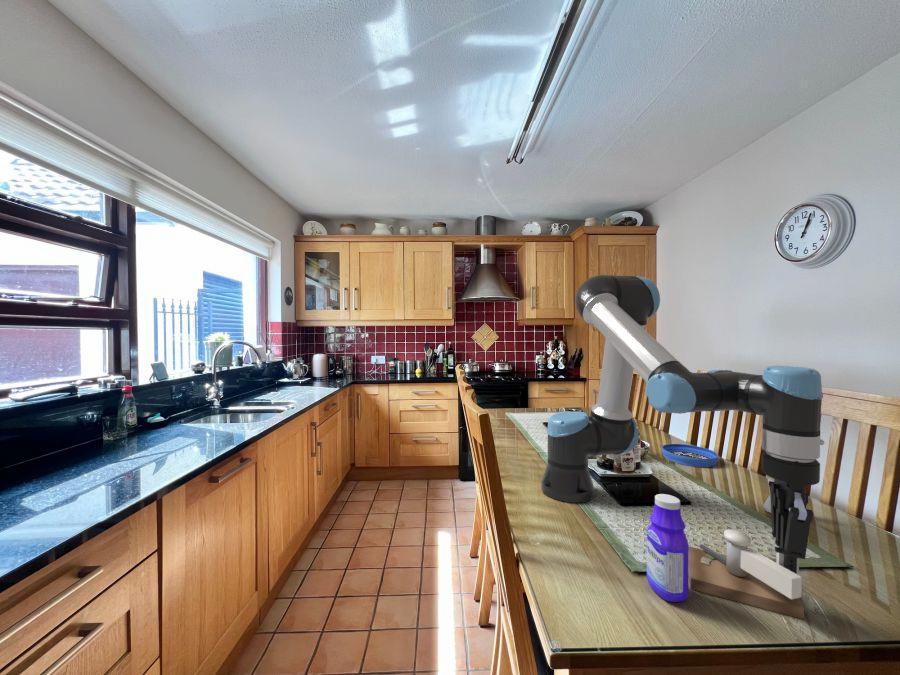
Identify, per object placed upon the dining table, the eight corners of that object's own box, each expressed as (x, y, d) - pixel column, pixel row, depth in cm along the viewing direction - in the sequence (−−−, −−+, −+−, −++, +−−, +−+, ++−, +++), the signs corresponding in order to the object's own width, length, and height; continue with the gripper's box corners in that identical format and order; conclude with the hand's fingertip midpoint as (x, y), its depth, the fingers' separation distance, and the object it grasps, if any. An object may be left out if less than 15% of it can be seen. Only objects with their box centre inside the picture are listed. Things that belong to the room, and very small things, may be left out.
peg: (693, 549, 78) (693, 516, 78) (708, 547, 79) (709, 514, 79) (787, 611, 61) (787, 569, 61) (805, 606, 62) (805, 565, 62)
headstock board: (690, 588, 70) (690, 577, 70) (684, 554, 80) (684, 544, 80) (803, 619, 62) (803, 606, 62) (779, 577, 73) (780, 566, 73)
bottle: (640, 579, 72) (641, 490, 72) (667, 577, 73) (669, 489, 73) (664, 606, 65) (666, 508, 65) (695, 604, 66) (696, 507, 65)
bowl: (730, 468, 132) (730, 458, 132) (679, 468, 132) (679, 458, 132) (697, 452, 150) (697, 443, 150) (652, 451, 150) (652, 443, 150)
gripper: (836, 471, 58) (832, 620, 58) (803, 447, 69) (800, 572, 70) (774, 463, 61) (771, 604, 62) (752, 442, 72) (750, 561, 73)
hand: (786, 587), depth 66 cm, fingers closed
